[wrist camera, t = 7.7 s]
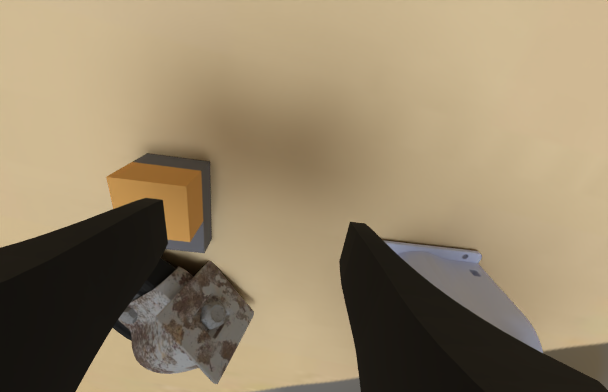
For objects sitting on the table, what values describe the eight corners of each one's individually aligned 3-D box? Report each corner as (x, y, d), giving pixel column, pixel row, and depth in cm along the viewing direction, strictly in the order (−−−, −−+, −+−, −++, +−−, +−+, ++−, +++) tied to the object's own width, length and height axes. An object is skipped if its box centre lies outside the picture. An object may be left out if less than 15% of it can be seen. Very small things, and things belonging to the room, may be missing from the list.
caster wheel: (121, 258, 26) (180, 215, 22) (193, 336, 28) (259, 311, 24) (46, 309, 20) (108, 263, 16) (144, 404, 22) (221, 385, 18)
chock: (210, 160, 19) (186, 186, 15) (212, 237, 22) (192, 276, 18) (148, 152, 18) (106, 177, 14) (159, 231, 22) (127, 270, 18)
